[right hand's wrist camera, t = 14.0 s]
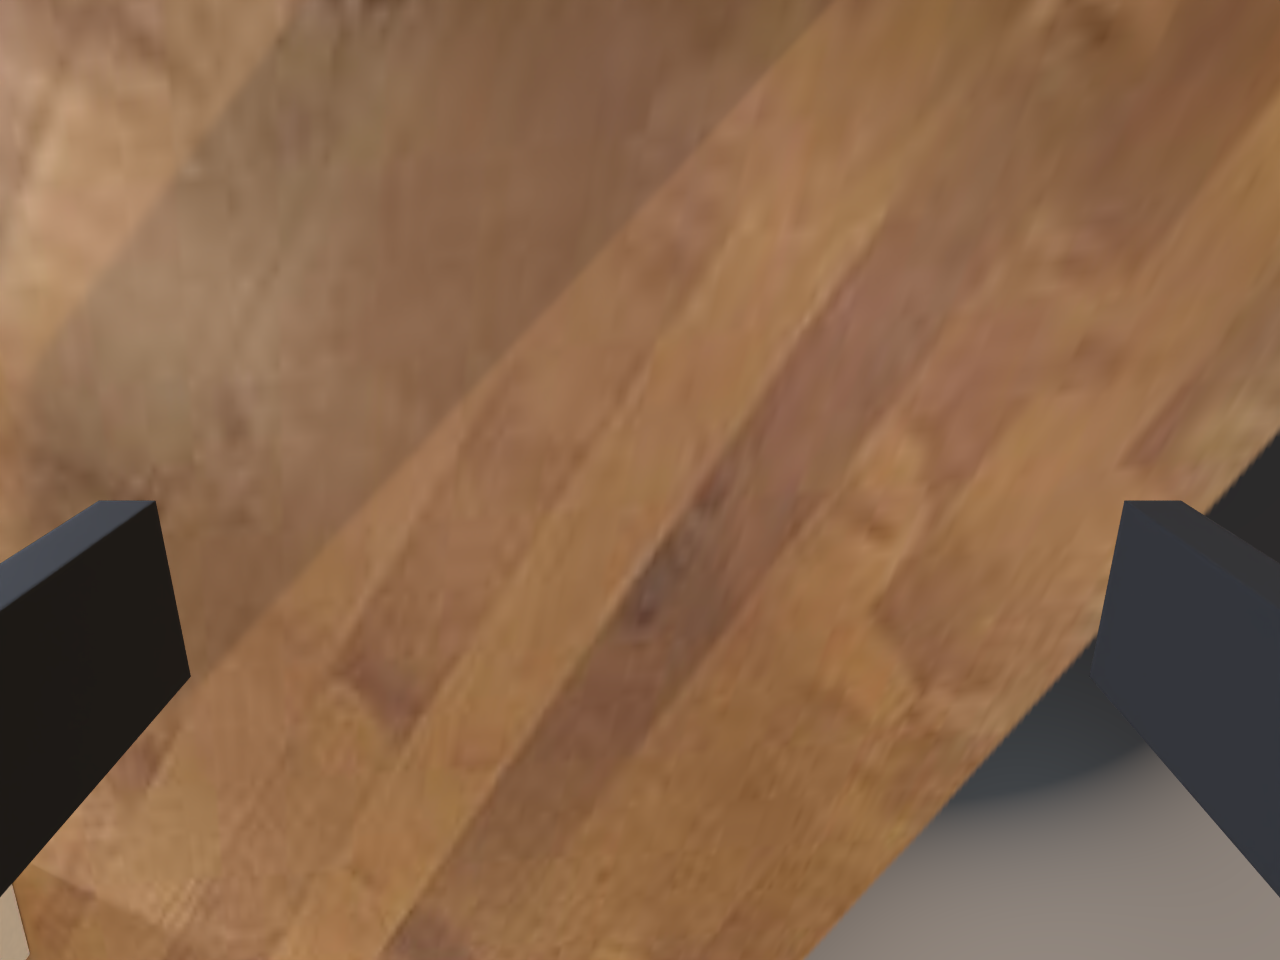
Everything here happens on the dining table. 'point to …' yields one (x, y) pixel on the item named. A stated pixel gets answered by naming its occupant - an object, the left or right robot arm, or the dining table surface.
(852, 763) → the dining table surface
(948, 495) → the dining table surface
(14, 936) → the brick
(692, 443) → the dining table surface
